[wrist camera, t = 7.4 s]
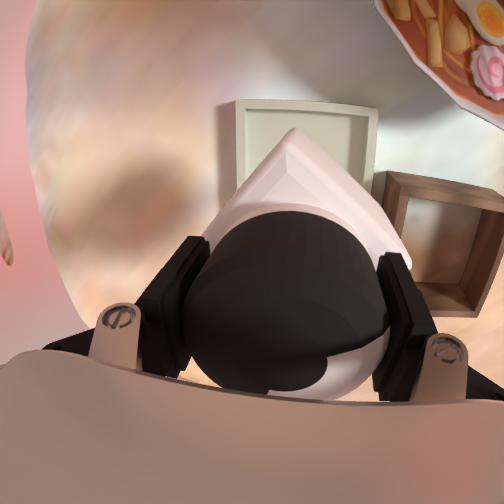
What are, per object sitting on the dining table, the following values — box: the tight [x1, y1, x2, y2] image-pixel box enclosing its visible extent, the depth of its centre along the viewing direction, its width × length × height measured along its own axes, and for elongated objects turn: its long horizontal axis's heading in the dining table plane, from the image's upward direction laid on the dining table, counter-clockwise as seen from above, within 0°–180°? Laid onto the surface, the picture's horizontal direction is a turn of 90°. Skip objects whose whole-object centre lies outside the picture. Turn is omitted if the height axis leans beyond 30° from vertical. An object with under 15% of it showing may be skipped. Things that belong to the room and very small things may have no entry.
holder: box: [382, 171, 504, 318], centre depth 26 cm, size 13×13×5 cm
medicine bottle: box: [181, 128, 412, 400], centre depth 13 cm, size 7×7×12 cm
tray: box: [235, 99, 379, 195], centre depth 26 cm, size 12×12×2 cm
